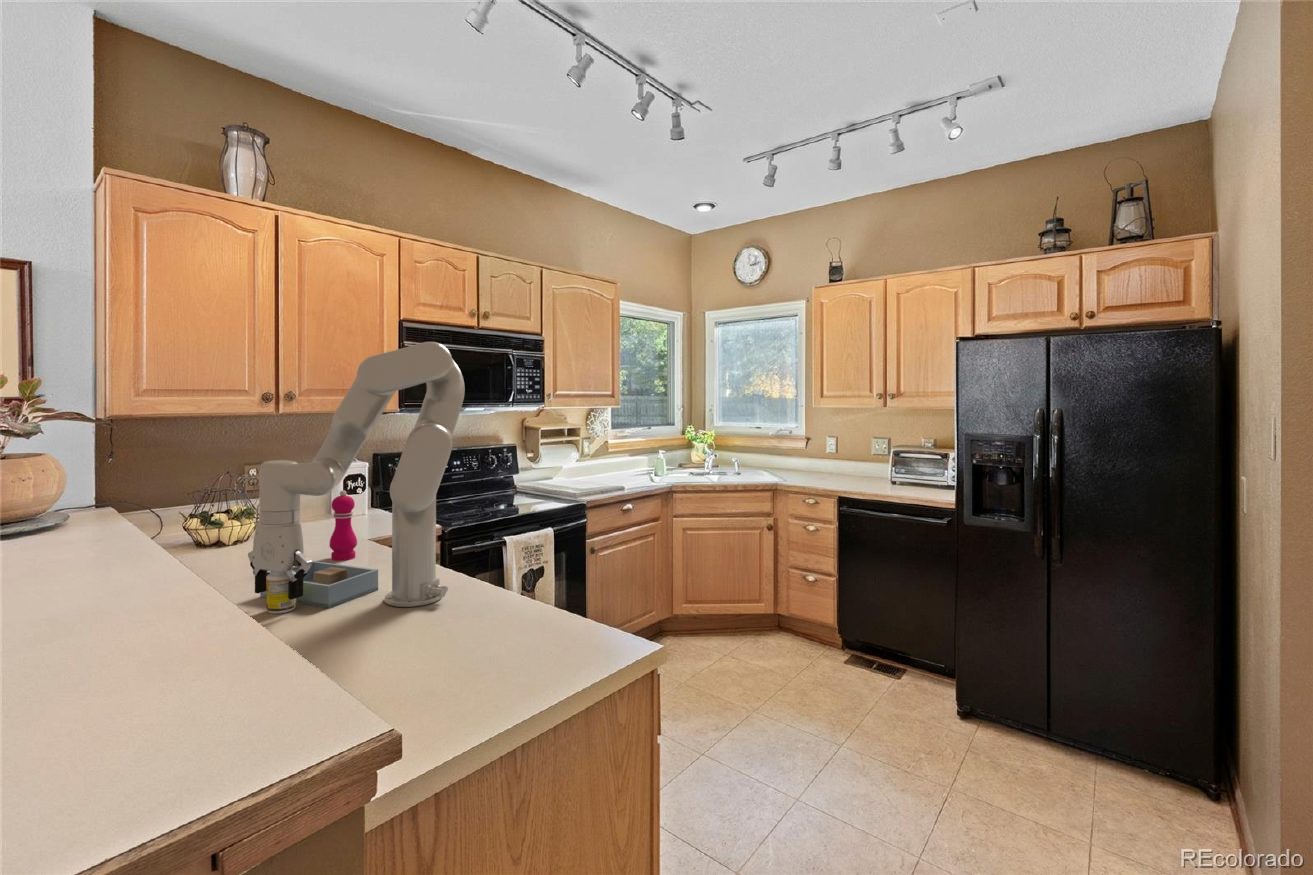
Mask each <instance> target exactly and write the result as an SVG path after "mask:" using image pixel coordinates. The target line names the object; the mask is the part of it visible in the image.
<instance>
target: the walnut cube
mask: <svg viewBox="0 0 1313 875" xmlns="http://www.w3.org/2000/svg"><path fill="white" fill-rule="evenodd" d="M345 579H347V569H341V568H334V567H330V568H326V569H323V570H320V571H316V572H313V583H319V584H326V585H330V584H333V583H336V582H339V581H342V580H345Z"/></svg>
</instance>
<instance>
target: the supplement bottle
mask: <svg viewBox="0 0 1313 875" xmlns="http://www.w3.org/2000/svg"><path fill="white" fill-rule="evenodd" d="M291 567H292V566H291ZM294 573H295V572H294ZM295 574H296V573H295ZM289 581H291V579H290V577H289V576H288V574H287V572H282V573H280V572H273V571H270V574H268V575H267V577H266V589H267V598H266V610H267V612H268V613H269V614H275V615H277V614H285V613H289V612H292V611H294V610H295V609H296V608H297V603H296V598H295V599H292V600H291V599H289V598H288V583H289Z"/></svg>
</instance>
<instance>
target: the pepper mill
mask: <svg viewBox="0 0 1313 875" xmlns="http://www.w3.org/2000/svg"><path fill="white" fill-rule="evenodd" d="M347 493H348V492H347V491H346V490H345V489H344V490H343V489H342V490H340V491H339V496H336V497H334V498H333V499H332V501H331V509H332V510H333V511H334V513H333V518H334V521H335V522H334V525H335V526H334V529H333V532H332V534H331V536H330V539H329V544H328V545H329V548H330V549H331V550H332V552H331V553H330V554H331V556H330V557H331V558H330V559H331V560H332V561H336V562H337V561H338V562H339V561H340V562H341V561H348V560H349V561H350V560H352V559H355V558H356V550H354V549H355V548H356V547H357V545H358V538H357V536H356V534H355V532H354V529H353V526H352V517H353V516H354V515H353V509H354V508H355V500H354V498H353V497H351V496H349V495H347Z"/></svg>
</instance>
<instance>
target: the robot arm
mask: <svg viewBox="0 0 1313 875" xmlns="http://www.w3.org/2000/svg"><path fill="white" fill-rule="evenodd" d="M422 384H426V392H425V395H424V398H423V401H422V405H421V408H420V412H419V414H418V417H417V419H416V422H415V424H414V426H413V428H412V429H411V431H410V432H409V433H408V436H407V438H406V441H405V444H404V447H403V450H402V452H401V456H400V458H399V461H398V464H397V466H396V470H395V472H394V475H393V478H392V481H391V483H390V487H389V496H390V498H391V501H392V506H391V509H392V510H391V512H392V514H391V518H392V519H391V520H392V521H391V528H392V529H391V533H392V534H391V575H392V576H391V591H390V592H388V593H386V594H385V596H384V603H385V604H387V605H389V606H391V607H400V608H410V607H411V608H412V607H413V608H414V607H419V606H420V607H421V606H427V605H429V604H432V603H436V602H437V601H439V600H440V599H442V598H445V596H446V594H447V592H448V590H449V587H448V586H447V585H440V578H436V577H437V576H436V574H437V573H436V569H437V566H436V562H437V561H436V560H437V559H436V557H437V555H436V554H437V553H436V551H437V550H436V549H437V548H436V546H437V545H436V542H437V540H436V539H437V537H436V536H437V534H436V533H437V493H438V489H439V488H440V484H441V482H442V480H443V477H444V473H445V472H446V471H445V470H446V469H447V466H448V462H449V459H450V456H451V453H452V450H453V435H454V432H455V429H456V426H457V423H458V420H459V416H460V414H461V410H462V406H463V402H464V400H465V393H466V392H465V391H466V389H465V381H464V376H463V374H462V371H461V369H460V368H459V365H458V364H457V363H456V362H455V360H454V359H453V357H452V354H451V352H450V350H449V349H448V348H447V347H446V346H445V345H443V344H442V343H439V342H436V341H424V342H421V343H417V344H412V345H409V346H405V347H402V348H399V349H395V350H391V351H386V352H382V353H379V354H375V355H371V356H368V357H366V358H365V359H364V360H362V362H360V364H359V365H358V367H357V370H356V377H355V379H354V381H353V382H352V383H351V386H350V388H349V389H348V391H347V392H346V394H345V395H344V397H343V399H342V400H341V402H340V403H339V404H338V406H337V408H336V410H334V411H335V412H334V414H333V417H332V421H331V426H330V429H329V432H328V433H327V436H326V438H325V439H324V441H323V443H322V444H321V447H320V448H319V450H318V451H317V453H316V455H315V456H314V458H313V459H312V461H309V462H303V463H302V462H301V463H298V462H297V461H294V460H285V459H284V460H280V459H279V460H276V459H275V460H267V461H264V462H262V463H261V465H260V467H259V495H258V496H259V498H258V500H259V506H258V508H259V516H258V517H259V519H258V520H259V522H258V523H257V524H256V526H255V527H256V528H255V531H254V536H253V543H252V544H253V545H252V550H251V551H249V552H248V553H247V557H248V560H249V565H250V567H251V568H252V575H254V593H255V594H260V593H261V592H265V591H267V589H266V577H267V575H268V574H270V573H271V571H273V572H280V573H282V572H287V574H288V576H289V577H290V579H291V581H289V583H288V598H289V599H291V600H292V599H295V598H298V597H301V596H303V579H304V578H306V575H307V574H308V573H309V569H310V567H311V565H312V560H311V559H310V558H309V557H307V556H306V555H305V554H304V551H305V550H304V539H303V536H304V535H303V530H302V525H301V523H300V522H301V521H300V520H301V518H300V516H301V495H303V496H312V497H313V496H314V497H319V496H320V497H321V496H324V495H328V494H329V493H331V491H333V489H335V488H336V487H337V486H338V485H340V483H341V481H342V480H343V478H344V477H345V474H346V473H347V472H348V470H349V468H350V467H351V465H352V463H353V461H354V460H355V459H356V457H357V455H358V453H359V451H360V450H361V448H362V446H363V445H364V444H365V442H366V441H367V439H369V438H370V435H371V433H372V432H373V430H374V428H375V427H376V425H377V423H378V422H379V420H380V418H381V416H382V415H383V414H384V412H385V410H386V408H387V406H388V405H389V403H390V401H391V400H392V398H393V397H394V395H395V393H396V392H397V391H401V390H404V389H407V388H411V387H415V386H420V385H422ZM291 566H292V567H291ZM294 570H296V571H297V573H296V574H295V573H294Z"/></svg>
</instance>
